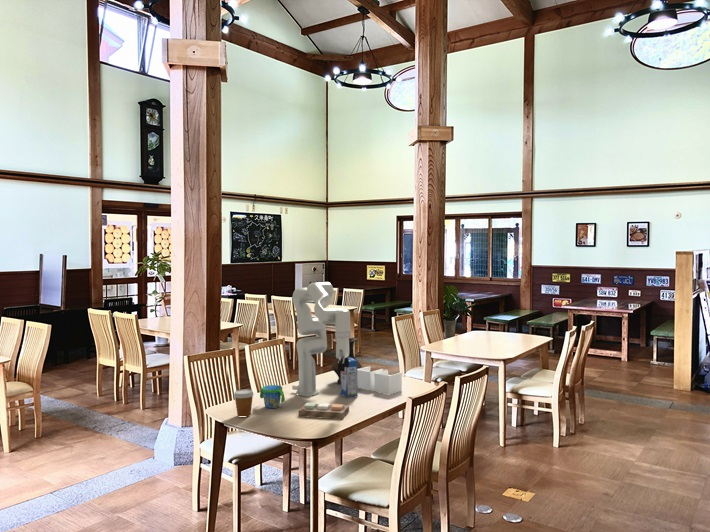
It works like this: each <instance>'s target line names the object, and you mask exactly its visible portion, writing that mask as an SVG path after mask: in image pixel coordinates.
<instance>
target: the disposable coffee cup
mask: <svg viewBox="0 0 710 532" xmlns="http://www.w3.org/2000/svg"><path fill="white" fill-rule="evenodd" d="M233 396H234V400H235V401H234V402H235V407H236V413H237V417H238V416H249V415H252V407H253V406H252V405H253V397H254V392H253V389H247V388H245V389H237V390H235V391H234V394H233ZM249 417H250V416H249Z"/></svg>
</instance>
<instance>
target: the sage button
mask: <svg viewBox="0 0 710 532" xmlns="http://www.w3.org/2000/svg"><path fill="white" fill-rule="evenodd" d="M317 404H318V403H317V402H306V403H305V404H304V405H303V406H304V408H306V409H315V408H316V407H317Z"/></svg>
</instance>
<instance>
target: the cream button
mask: <svg viewBox="0 0 710 532" xmlns="http://www.w3.org/2000/svg"><path fill="white" fill-rule="evenodd" d="M318 404H319V405H318V409H321V410H328V409H329V408H330V405H331V403H326V402H325V403H324V402H323V403H318Z"/></svg>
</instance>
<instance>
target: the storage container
mask: <svg viewBox="0 0 710 532" xmlns="http://www.w3.org/2000/svg"><path fill="white" fill-rule="evenodd" d="M402 375H403V374H402V371H399V372H398V373H393V374H389V369H384V368H380V369H377V370H373V371H371V366H366V367H365V366H364V367H361V368H360V369H357V387H358V389H360V388H362V389H361V390H364V389H367V390H366V391H369V390H372V391H374V392H375V391H376V392H375V393H377V392H380V393H379V394H382V393H385V394H384V395H386V394H392V395H394V394H393V393H395V394H397V393H396V392H398V393H400V392H399V391H401V392H403V391H402V390H403V388H402V387H403V386H402V385H403V384H402V383H403V380H402V379H403V378H402V377H403V376H402ZM373 389H375V390H373Z"/></svg>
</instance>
